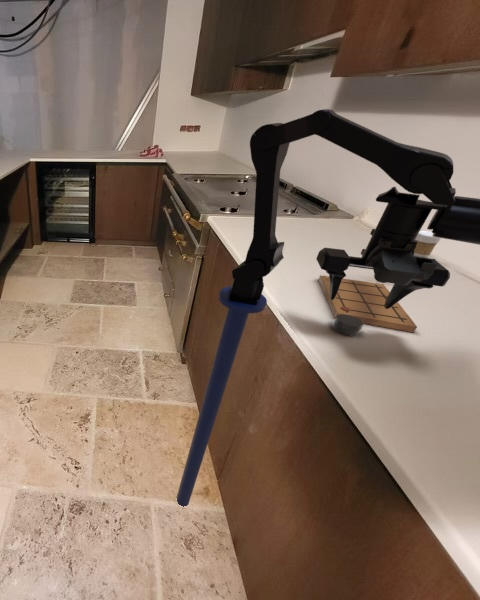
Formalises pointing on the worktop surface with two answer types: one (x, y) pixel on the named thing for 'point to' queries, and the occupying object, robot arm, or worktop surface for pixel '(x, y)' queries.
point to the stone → (347, 325)
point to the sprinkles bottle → (425, 244)
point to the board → (366, 304)
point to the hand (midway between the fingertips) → (358, 303)
